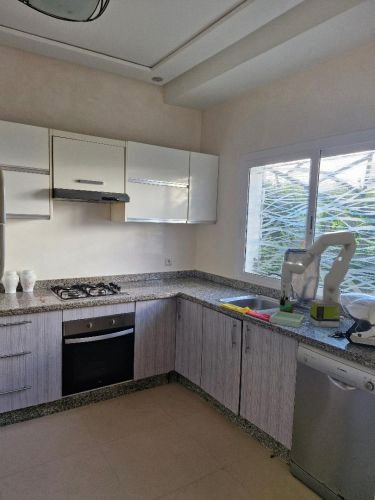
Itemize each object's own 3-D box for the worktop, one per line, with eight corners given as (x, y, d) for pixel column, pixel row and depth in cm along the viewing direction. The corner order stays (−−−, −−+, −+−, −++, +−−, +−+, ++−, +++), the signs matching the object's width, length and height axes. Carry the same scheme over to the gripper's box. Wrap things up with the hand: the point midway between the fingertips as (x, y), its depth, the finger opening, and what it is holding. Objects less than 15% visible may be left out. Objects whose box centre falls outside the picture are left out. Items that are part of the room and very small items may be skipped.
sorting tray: (304, 320, 226) (304, 315, 226) (298, 327, 210) (299, 322, 210) (276, 316, 235) (277, 310, 234) (269, 322, 219) (269, 316, 219)
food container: (274, 312, 244) (275, 298, 243) (279, 311, 248) (280, 297, 247) (289, 316, 235) (290, 302, 234) (294, 315, 238) (295, 301, 238)
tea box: (332, 322, 225) (334, 300, 224) (339, 327, 215) (341, 304, 214) (309, 321, 224) (310, 299, 223) (315, 326, 214) (317, 303, 213)
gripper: (289, 282, 230) (286, 307, 231) (294, 278, 245) (292, 302, 247) (277, 280, 233) (275, 305, 235) (284, 277, 248) (281, 300, 250)
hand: (284, 304), depth 241 cm, fingers open, 9 cm apart
